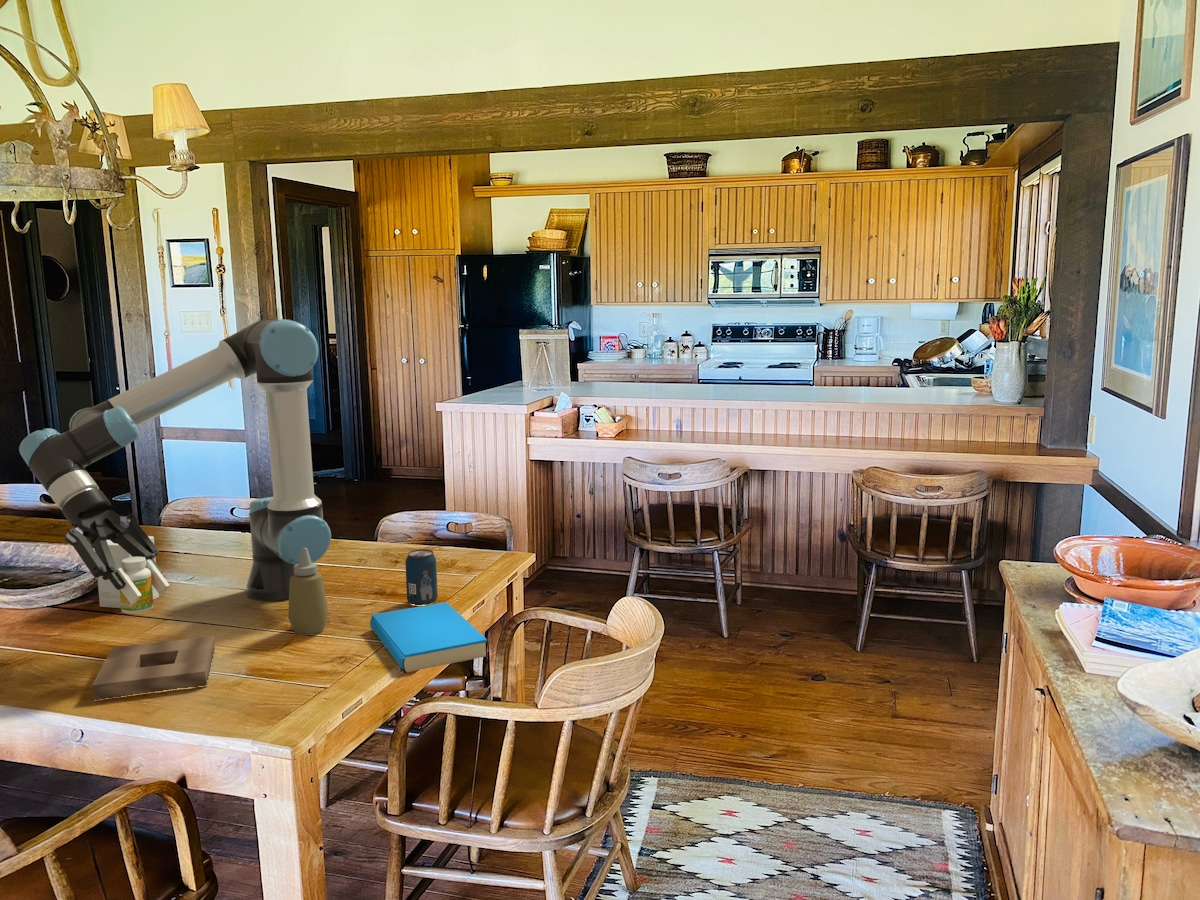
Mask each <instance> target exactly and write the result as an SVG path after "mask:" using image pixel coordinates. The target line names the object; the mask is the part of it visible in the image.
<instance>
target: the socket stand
mask: <svg viewBox="0 0 1200 900" xmlns="http://www.w3.org/2000/svg"><path fill="white" fill-rule="evenodd" d="M215 648H216V647H215V636H214V635H212V636H211V635H210V636H203V637H202V636H201V637H196V638H188V639H187V638H186V639H179V640H178V639H177V640H167V641H158V642H151V643H142V644H133V645H125V646H115V647H111V649H110V651H109V653H108V655H107V657H106V658H105V661H104V663H103V664H102V666H101V668H100V670H99V672H98V674H97V676H96V678H95V679H94V681H93V682H92V685H91V686H92V696H93V701H94V700H99V699H105V698H113V697H121V696H126V695H127V696H128V695H133V694H140V693H148V692H155V691H163V690H169V689H170V690H171V689H177V688H188V687H198V686H205V685H207V686H208V682H207V680H208V681H209V678H208V676H209V677H210V674H209V672H210V673H211V669H212V665H211V663H212V664H213V661H212V659H213V660H214V656H213V654H214V655H215V652H214V650H215ZM215 651H216V650H215ZM210 668H211V669H210Z"/></svg>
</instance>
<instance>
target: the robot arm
mask: <svg viewBox="0 0 1200 900" xmlns="http://www.w3.org/2000/svg"><path fill="white" fill-rule="evenodd" d="M218 342H219V343H218V345H217V347H216V348H213V349H211V350H210V351H207V352H205V353H203V354H201V355H199V356H197V357H195V358H193V359H190V360H189V361H186V362H184V363H182V364H180V365H178V366H176V367H174V368H171V369H169V370H167V371H165V372H163V373H161V374H159V375H157V376H155V377H153V378H151V379H149V380H146V381H144V382H143V383H140V384H138V385H136V386H133V387H132V388H129V389H127V390H126V391H123V392H121V393H118V394H117V395H115V396H113V397H111V398H109V399H107V400H104V401H103V402H101V403H99V404H96V405H94V406H92V407H85V408H82V409H81V408H80V409H79V410H78V411H76V412H74V414H73V415H72V416H71V418H70V419H69V420H70V421H69V430H67V431H65V432H64V431H63V432H62V433H60V432H58V431H57V429H54V428H51V427H50V428H43V429H40V430H38V429H37V430H35V431H33V432H31V433H30V434H28V435H27V436H25V437H24V438H23V440H22V441H21V442H20V444H19V447H18V450H19V454H20V456H21V457H22V459H23V461H24V462H25V464H26V465H27V467H28V468H29V470H30V471H31V472H32V473H33V475H34V476H35V478H36V479H37V481H38V482H39V483H40V484H41V485H42V487H43V488H44V489H45V491H46V492H47V493H48V495H49V496H50V498H51V499H52V501H53V502H54V503H55V505H56V506H57V507H58V509H60V510H61V511H62V514H63V516H64V518H65V519H66V520H67V521H68V523H69V524H70V525H71V527H74V528H70V529H69V531H68V532H67V534H66V535H65V537H64V540H65V541H66V542H67V543H68V544H69V545H71V547H73V548H74V550H75V552H76V553H77V554H78V555H79V557H80V558H81V560H82V561H83V564H85V566H86V567H87V569H88V571H89V572H90V573H91V575H92V576H93V577H94V578H97V579H98V577H99V576H103V577H102V579H104V580H108V579H109V580H110V581H111V583H112V584H113V585H114V587H115V588H116V589H117V590H121V591H122V593H123V594H124V595H125V597H126V598H127V599H128V601H129V602H130V603H131V605H133V604H135V603H136V602H137V601H138V600H139V598H140V597H141V596H142V595H141V593H140V592H139V590H138V589H137V588H136V586H135V585H134V584H133V582H132V581H131V580H130V578H129V577H128V576H127V574H126V573H125V571H124V570H123V569H122V568H119V569H118V570H116V565H115V562H114V560H113V557H112V554H111V552H110V549H109V546H108V544H107V541H106V540H111V541H112V542H113V543H117V544H118V545H120V546H121V547H122V548H123V549H124V550H125V551H127V552H128V553H129V554H130V555H131V556H132V557H145V559H146V566H145V568H148V569H149V570H150V571H151V579H152V585H153V586H154V588H155V589H156V591H157V592H158V593H159V596H161V595H163V594H164V593H165V592H166V591H167V589H168V588H169V587H170V584H169V582H168V581H167V579H166V578H165V577H164V576H163V574H162V573H163V571H162V568H161V567H160V566H159V564H157V561H156V562H155V561H154V558H155V557H156V556H157V555H159V553H160V550H159V548H158V547H157V546H156V545H155V542H154V543H153V542H152V541H151V540H150V538H149V537H148V536H149V535H147V533H146V532H145V531H144V530H143V528H142V527H141V526H140V524H138V521H137V518H136V516H135V514H134V513H129V514H128V515H127V516H121V515H119V513H116V512H115V511H114V510H113V508H112V504H111V502H110V500H109V498H107V496H106V494H104V492H103V491H102V490H100V487H99V486H98V483H96V481H95V480H94V479H93V478H92V476H91V475H90V473H89V472H88V471H87V469H86V467H87V466H90V465H92V464H93V463H95V462H97V461H99V460H101V459H103V458H105V457H107V456H109V455H111V454H112V453H114V452H117V451H118V450H120V449H122V448H126V447H128V445H130V444H131V443H132V442H134V441H136V440H138V438H139V437H140V430H139V429H138V427H139V426H140V425H143V424H145V423H146V422H148V421H151V420H153V419H155V418H157V417H159V416H161V415H164V414H165V413H167V412H169V411H171V410H173V409H175V408H177V407H179V406H181V405H183V404H185V403H187V402H189V401H191V400H193V399H196V398H197V397H199V396H202V395H203V394H205V393H208V392H209V391H211V390H214V389H216V388H217V387H220V386H221V385H224V384H225V383H227V382H230V381H232V380H234V379H239V380H244V379H246V378H248V377H249V376H252V375H256V383H257V385H259V387H260V388H262V389H263V390H264V391H265V404H266V414H267V415H266V418H267V428H268V441H269V443H268V444H269V453H270V454H269V455H270V467H271V478H272V479H271V480H272V491H273V496H270V497H269V496H268V497H262V498H258V499H255V500H252V501H251V502H250V503H249V512H248V516H249V524H250V525H249V526H250V538H251V540H250V541H251V550H252V564H251V567H250V572H249V576H248V579H247V584H246V594H247V597H249V598H251V599H253V600H258V601H267V602H268V601H270V602H271V601H282V600H283V601H284V600H289V587H290V578H291V577H292V576H293V575H295V574H294V566H295V565H296V564H299V560H300V554H301V549H302V548H307V549H308V552H309V556H310V559H311V563H316V562H317V561H319V560H320V559H321V558H322V557H323V556H324V555H325V554H326V553H327V551H328V550H329V547H330V545H331V542H332V533H331V528H330V526H329V525H328V522H327V521H325V519H324V513H323V503H322V500H321V499H320V498H319V497H318V496H317V495H316V494H315V487H314V486H315V485H314V473H313V461H312V446H311V430H310V420H309V419H310V417H309V405H308V404H309V403H308V388H309V387H310V386H311V384H312V383H313V382H314V373H313V367H314V366H315V364H316V363H317V360H318V358H319V345H318V342H317V338H316V337H315V335H314V334H313V332H312V331H311V330H310V329H309V328H308V327H307V326H305V325H303V324H302V323H300V322H298V321H295V320H291V319H284V318H282V319H272V318H267V319H261V320H257V321H255V322H254V323H251V324H250V325H248V326H246V327H244V328H242V329H240V330H239V331H237V332H235V333H233V334H232V335H229V336H227V337H225V338H224V339H222V340H220V341H218Z"/></svg>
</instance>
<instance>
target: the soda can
mask: <svg viewBox="0 0 1200 900" xmlns="http://www.w3.org/2000/svg"><path fill="white" fill-rule="evenodd" d="M437 570H438V569H437V558H436V556H435V554H434V551H433V550H431V549H427V548H426V549H425V548H424V549H423V548H422V549H413V550H410V551H409V552H407V557H406V559H405V584H406V588H405V589H406V599H407V602H408V603H409V604H410V603H411V604H415V605H422V604H430V603H433V602H435V603H436V601H437V600H438V596H439V595H438V572H437Z"/></svg>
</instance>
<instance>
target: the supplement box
mask: <svg viewBox="0 0 1200 900" xmlns="http://www.w3.org/2000/svg"><path fill="white" fill-rule="evenodd" d="M147 536H148V537H149V538H150V540H151V541H152V542H153V543H154V544H155V537H154V536H152V535H147ZM106 541H107V544H108V546H109V549H110V552H111V554H112V557H113V560H114V562H115V565H116V570H118V569H119V568H122V560H123V559H125V558H129V557H132V556H131V555H130V554H129V553H128V552H127V551H125V550H124V549H123V548H122V547H121V546H120V545H118V544H117V543H113V542H112V541H111V540H106ZM154 561H155V562H156V563H157V558H156V557H155V558H154ZM122 569H123V568H122ZM123 570H124V569H123ZM102 577H103V576H99V577H98V578H97V587H98V588H97V589H98V598H99V599H98V600H99V607H100V608H101V607H103V608H113V609H114V608H115V609H121V600H120V590H117V589H116V588H115V587H114V585H113V584H112V583H111V581H110V580H109V579H108V580H104V579H102ZM152 592H153V601H154V600H157V599H159V598H160V595H159V593H158V592H157V591H156V589H155V588H154V586H153V585H152Z"/></svg>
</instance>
